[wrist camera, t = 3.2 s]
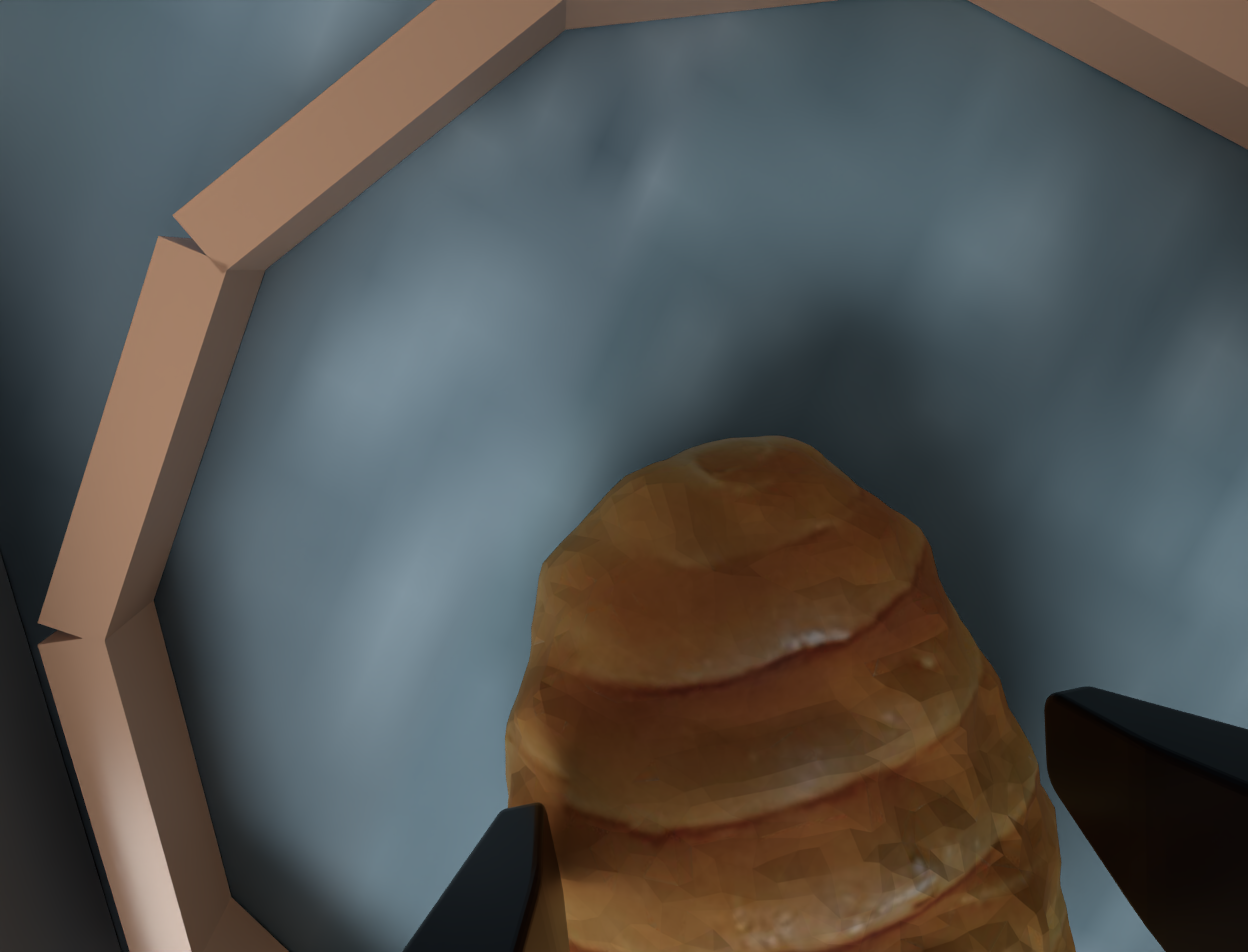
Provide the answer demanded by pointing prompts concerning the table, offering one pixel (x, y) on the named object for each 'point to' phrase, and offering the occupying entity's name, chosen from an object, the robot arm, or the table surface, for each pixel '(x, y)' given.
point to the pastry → (774, 726)
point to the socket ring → (216, 321)
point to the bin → (40, 818)
